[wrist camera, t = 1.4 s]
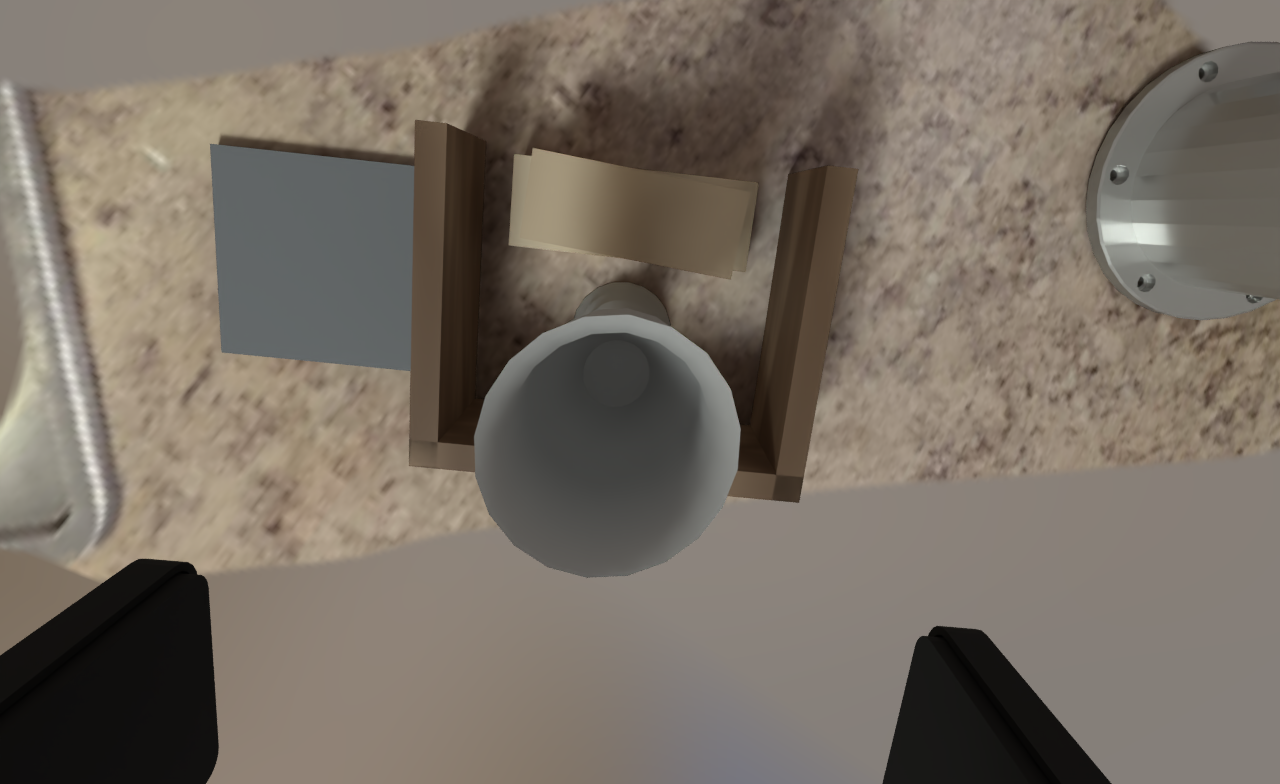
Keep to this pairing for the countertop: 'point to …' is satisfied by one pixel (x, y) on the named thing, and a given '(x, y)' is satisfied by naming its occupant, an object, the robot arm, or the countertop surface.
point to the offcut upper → (633, 214)
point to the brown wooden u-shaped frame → (452, 310)
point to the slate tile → (313, 256)
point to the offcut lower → (524, 161)
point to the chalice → (607, 439)
